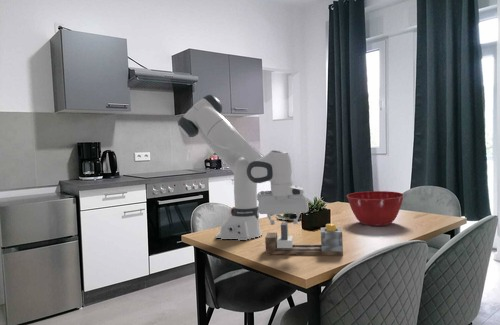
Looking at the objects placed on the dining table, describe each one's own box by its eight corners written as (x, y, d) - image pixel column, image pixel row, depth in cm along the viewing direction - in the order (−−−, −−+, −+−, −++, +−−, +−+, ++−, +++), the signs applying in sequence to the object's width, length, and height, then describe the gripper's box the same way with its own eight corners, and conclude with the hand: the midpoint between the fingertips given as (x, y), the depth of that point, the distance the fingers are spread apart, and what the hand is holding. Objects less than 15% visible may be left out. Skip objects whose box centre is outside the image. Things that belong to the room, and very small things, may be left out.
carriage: (277, 248, 143) (276, 225, 142) (278, 243, 150) (277, 221, 149) (292, 248, 142) (291, 225, 141) (293, 243, 149) (292, 221, 148)
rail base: (266, 254, 143) (264, 232, 143) (268, 249, 151) (267, 227, 151) (343, 255, 138) (342, 232, 138) (341, 249, 146) (340, 227, 145)
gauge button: (326, 237, 141) (325, 225, 141) (326, 234, 145) (325, 223, 144) (336, 237, 140) (336, 225, 140) (336, 234, 144) (335, 223, 144)
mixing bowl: (357, 231, 174) (356, 199, 173) (341, 219, 202) (340, 192, 202) (415, 228, 175) (414, 196, 174) (390, 216, 203) (389, 189, 202)
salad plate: (268, 220, 212) (267, 212, 212) (286, 214, 225) (285, 207, 225) (294, 223, 199) (294, 215, 199) (312, 218, 212) (312, 210, 212)
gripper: (255, 192, 143) (257, 226, 144) (306, 190, 139) (308, 225, 140) (258, 190, 150) (260, 223, 150) (307, 188, 146) (309, 221, 146)
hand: (284, 224), depth 145 cm, fingers open, 8 cm apart
